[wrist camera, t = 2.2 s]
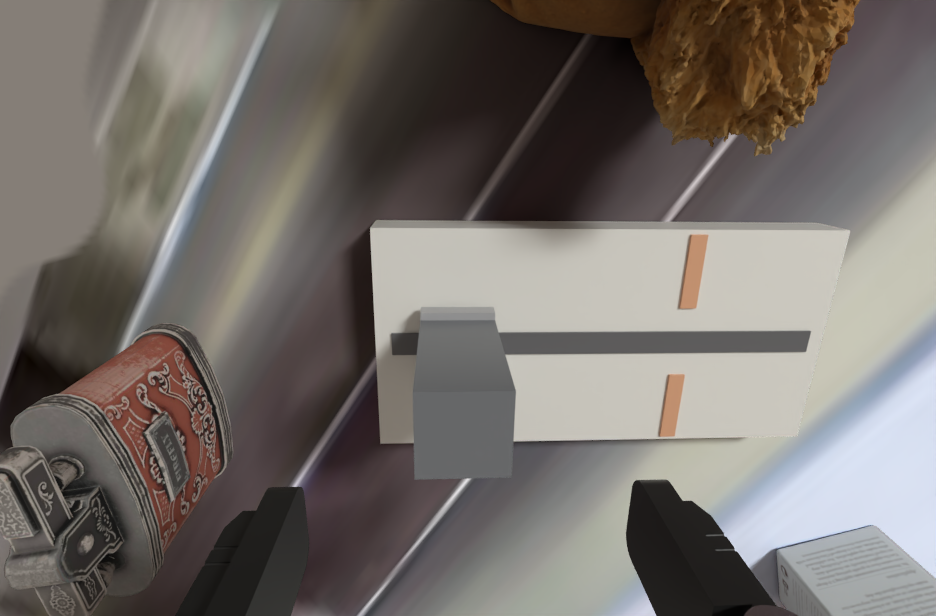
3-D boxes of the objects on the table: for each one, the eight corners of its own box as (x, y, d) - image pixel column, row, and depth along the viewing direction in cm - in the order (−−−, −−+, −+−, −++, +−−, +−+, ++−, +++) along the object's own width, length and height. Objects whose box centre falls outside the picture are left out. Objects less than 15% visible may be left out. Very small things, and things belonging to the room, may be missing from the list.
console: (376, 220, 22) (369, 228, 20) (816, 222, 23) (852, 231, 21) (384, 420, 25) (380, 445, 23) (771, 414, 26) (798, 437, 24)
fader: (421, 307, 21) (412, 383, 14) (493, 306, 21) (516, 381, 15) (422, 385, 22) (414, 487, 16) (490, 384, 22) (511, 485, 16)
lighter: (246, 465, 26) (132, 657, 16) (180, 474, 26) (28, 671, 16) (198, 318, 23) (31, 444, 14) (125, 328, 23) (-95, 461, 14)
